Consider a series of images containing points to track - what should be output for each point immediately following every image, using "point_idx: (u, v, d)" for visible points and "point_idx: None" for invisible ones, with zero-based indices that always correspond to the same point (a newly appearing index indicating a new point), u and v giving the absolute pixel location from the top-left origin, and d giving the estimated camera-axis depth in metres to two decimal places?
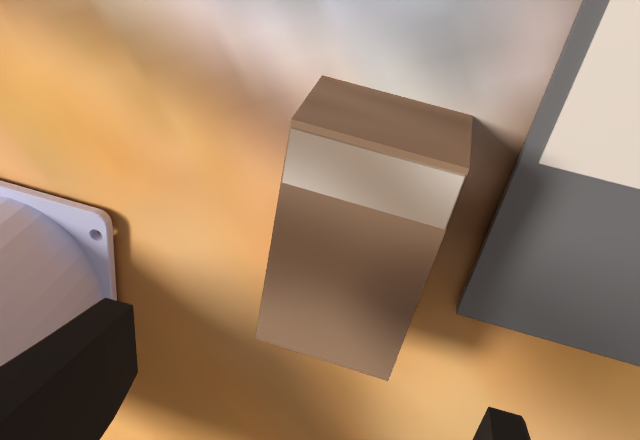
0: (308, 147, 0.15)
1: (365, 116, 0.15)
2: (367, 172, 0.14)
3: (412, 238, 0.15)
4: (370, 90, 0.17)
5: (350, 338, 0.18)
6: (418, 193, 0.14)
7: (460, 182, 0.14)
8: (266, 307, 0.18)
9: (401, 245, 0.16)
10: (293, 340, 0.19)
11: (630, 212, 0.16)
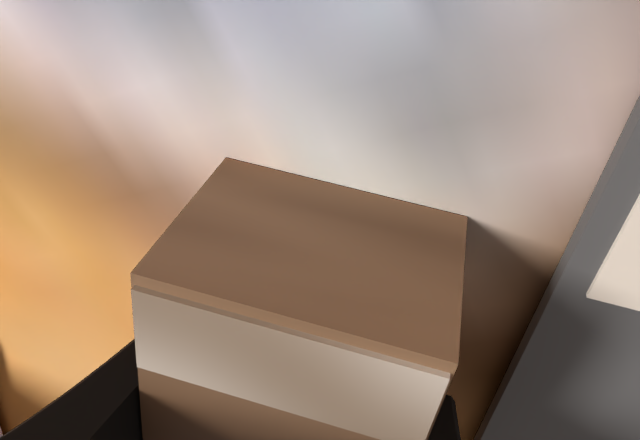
0: (169, 316, 0.08)
1: (275, 250, 0.09)
2: (274, 361, 0.08)
3: None
4: (297, 186, 0.10)
5: None
6: (368, 398, 0.08)
7: (442, 387, 0.07)
8: None
9: None
10: None
11: None
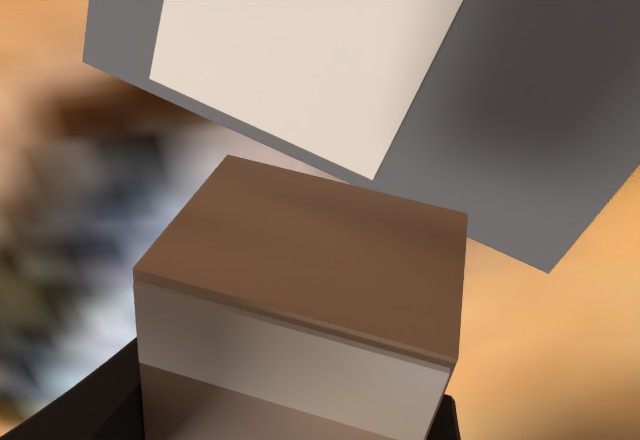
0: (170, 312, 0.08)
1: (276, 246, 0.09)
2: (275, 356, 0.08)
3: None
4: (298, 183, 0.10)
5: None
6: (368, 393, 0.08)
7: (442, 382, 0.07)
8: None
9: None
10: None
11: (440, 109, 0.16)
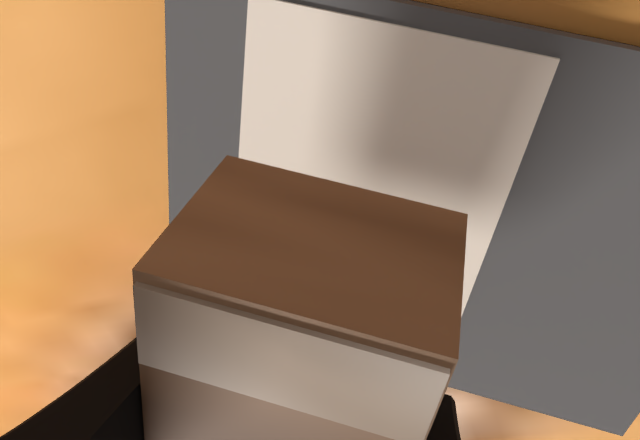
0: (170, 313, 0.08)
1: (276, 247, 0.09)
2: (275, 358, 0.08)
3: None
4: (298, 183, 0.10)
5: None
6: (368, 394, 0.08)
7: (442, 383, 0.07)
8: None
9: None
10: None
11: (488, 318, 0.18)
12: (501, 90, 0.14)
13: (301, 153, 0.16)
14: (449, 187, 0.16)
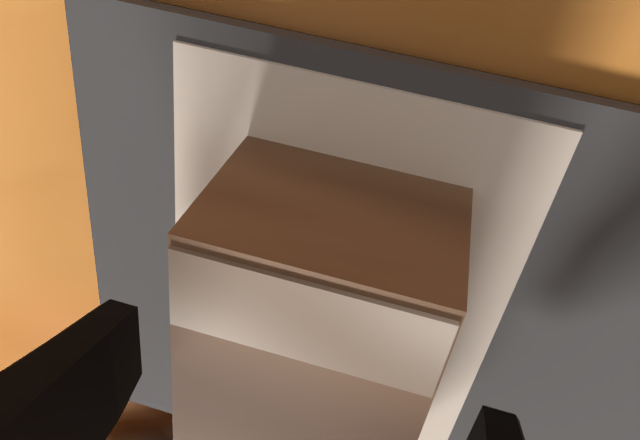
0: (202, 274, 0.09)
1: (296, 216, 0.09)
2: (298, 315, 0.09)
3: (381, 404, 0.10)
4: (314, 161, 0.11)
5: None
6: (384, 347, 0.09)
7: (452, 334, 0.08)
8: None
9: (364, 413, 0.10)
10: None
11: None
12: (504, 167, 0.11)
13: None
14: None
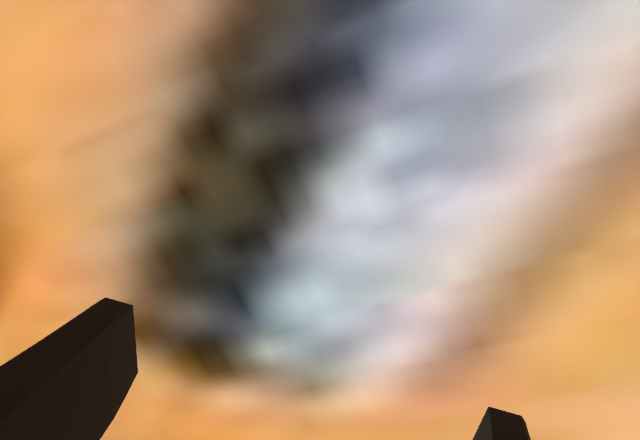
0: None
1: None
2: None
3: None
4: None
5: None
6: None
7: None
8: None
9: None
10: None
11: None
12: None
13: None
14: None
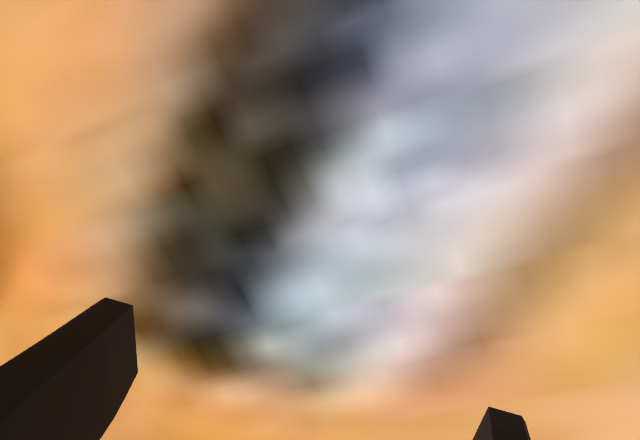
0: None
1: None
2: None
3: None
4: None
5: None
6: None
7: None
8: None
9: None
10: None
11: None
12: None
13: None
14: None
